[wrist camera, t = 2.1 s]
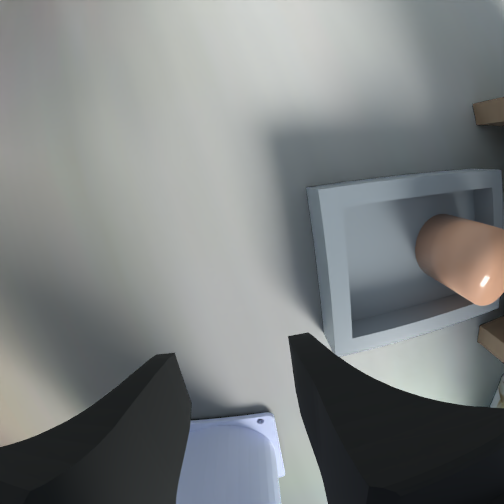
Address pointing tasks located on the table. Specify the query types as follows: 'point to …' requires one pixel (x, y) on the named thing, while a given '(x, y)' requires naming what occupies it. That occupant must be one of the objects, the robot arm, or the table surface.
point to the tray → (392, 253)
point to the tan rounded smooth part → (463, 256)
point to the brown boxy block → (500, 330)
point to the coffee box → (499, 395)
